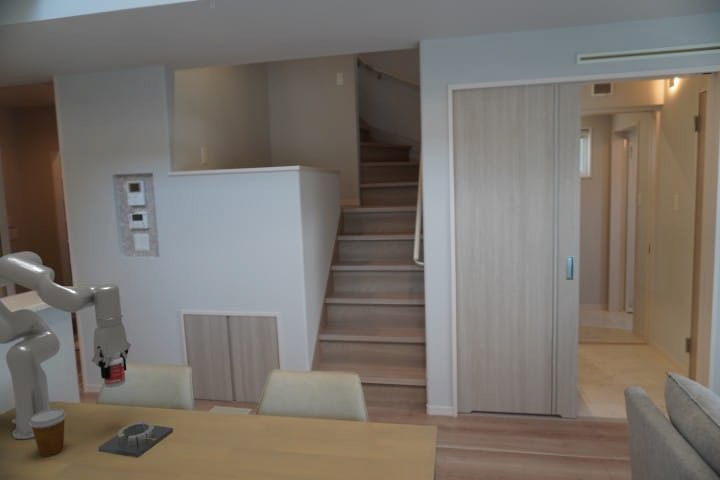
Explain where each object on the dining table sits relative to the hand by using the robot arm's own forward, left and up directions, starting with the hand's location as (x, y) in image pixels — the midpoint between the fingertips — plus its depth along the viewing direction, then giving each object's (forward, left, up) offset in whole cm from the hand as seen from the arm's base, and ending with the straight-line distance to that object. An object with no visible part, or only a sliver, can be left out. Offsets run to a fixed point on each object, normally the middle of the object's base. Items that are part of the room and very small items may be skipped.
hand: (114, 373), depth 161 cm
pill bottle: (0, 0, -4) cm, 4 cm away
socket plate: (+11, -5, -20) cm, 23 cm away
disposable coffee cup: (-11, -17, -20) cm, 28 cm away
